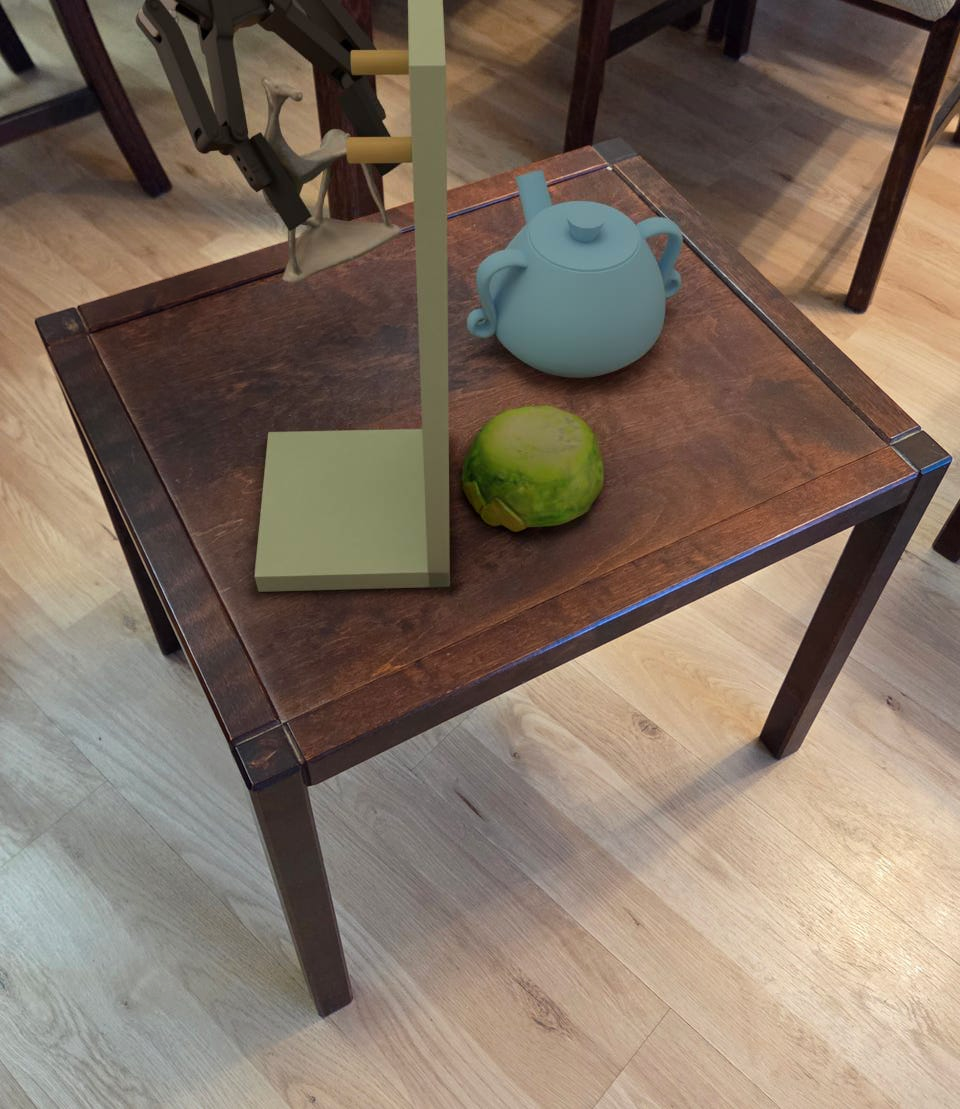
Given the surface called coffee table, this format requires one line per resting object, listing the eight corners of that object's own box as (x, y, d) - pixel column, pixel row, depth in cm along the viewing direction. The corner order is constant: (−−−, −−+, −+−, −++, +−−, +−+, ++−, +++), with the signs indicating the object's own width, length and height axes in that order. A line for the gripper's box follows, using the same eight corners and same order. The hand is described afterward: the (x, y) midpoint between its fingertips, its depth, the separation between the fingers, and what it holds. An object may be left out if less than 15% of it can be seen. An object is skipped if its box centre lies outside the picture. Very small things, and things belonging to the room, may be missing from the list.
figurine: (369, 197, 88) (357, 18, 76) (409, 238, 85) (402, 59, 73) (250, 239, 85) (217, 59, 72) (287, 285, 81) (259, 104, 69)
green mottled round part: (563, 559, 79) (569, 518, 75) (438, 502, 82) (438, 460, 78) (625, 459, 85) (634, 417, 81) (507, 410, 88) (510, 367, 84)
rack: (258, 592, 77) (115, 67, 45) (271, 448, 85) (159, -84, 53) (449, 587, 78) (445, 65, 45) (444, 444, 86) (438, -84, 53)
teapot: (497, 420, 88) (503, 301, 77) (424, 270, 98) (420, 149, 88) (710, 367, 92) (743, 247, 81) (617, 229, 103) (635, 109, 92)
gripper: (268, -122, 80) (423, 153, 87) (22, -26, 70) (218, 275, 77) (308, -183, 74) (472, 119, 80) (43, -86, 64) (255, 247, 71)
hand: (348, 195), depth 79 cm, fingers closed on figurine, 9 cm apart
